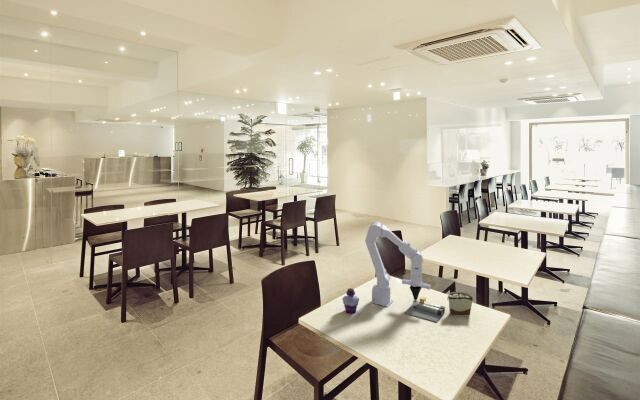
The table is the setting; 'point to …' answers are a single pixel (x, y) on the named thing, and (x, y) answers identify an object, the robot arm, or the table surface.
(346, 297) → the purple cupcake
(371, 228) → the robot arm
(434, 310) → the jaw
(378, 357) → the table surface
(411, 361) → the table surface
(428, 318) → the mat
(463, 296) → the food container
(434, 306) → the tongs fixed
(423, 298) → the collar
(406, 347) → the table surface
